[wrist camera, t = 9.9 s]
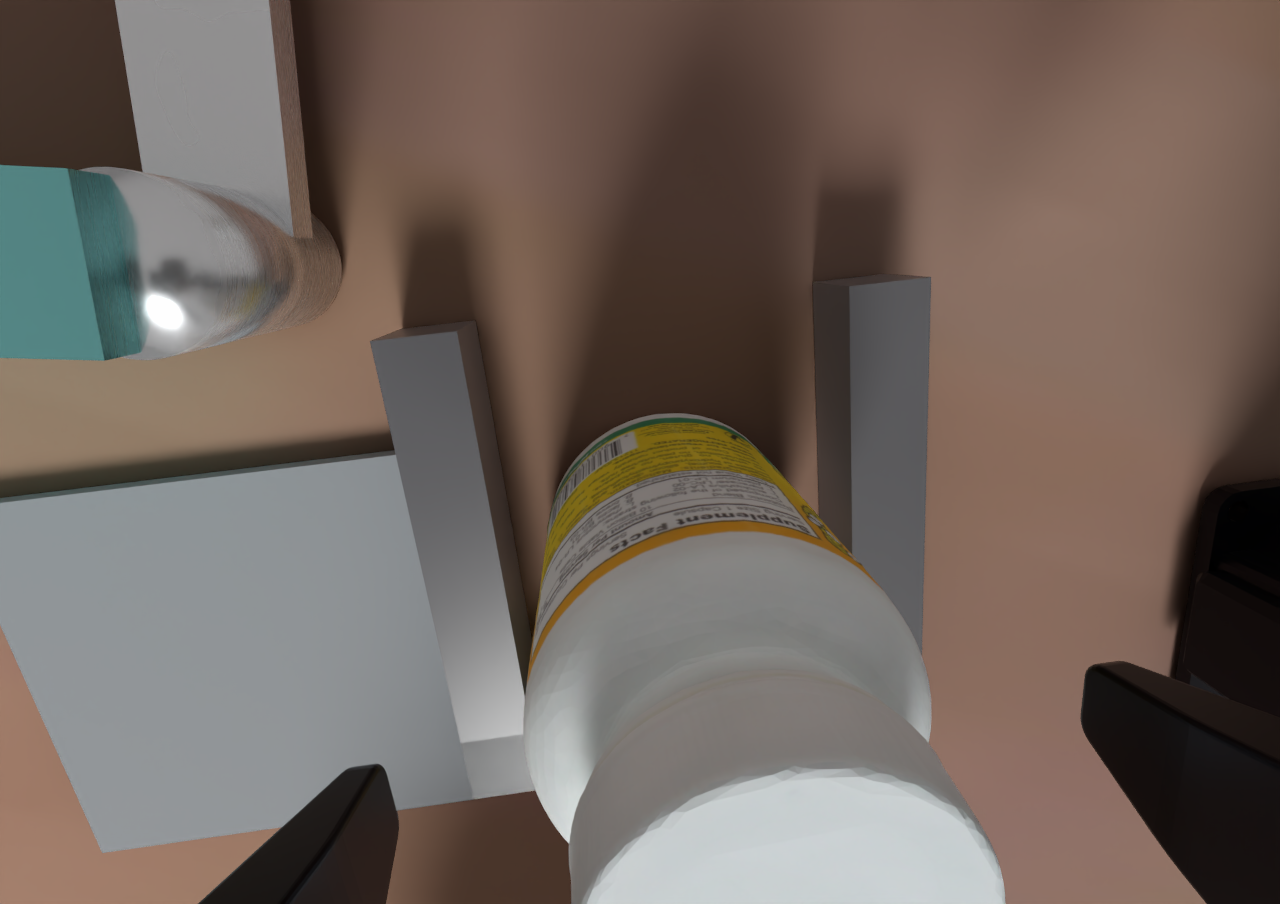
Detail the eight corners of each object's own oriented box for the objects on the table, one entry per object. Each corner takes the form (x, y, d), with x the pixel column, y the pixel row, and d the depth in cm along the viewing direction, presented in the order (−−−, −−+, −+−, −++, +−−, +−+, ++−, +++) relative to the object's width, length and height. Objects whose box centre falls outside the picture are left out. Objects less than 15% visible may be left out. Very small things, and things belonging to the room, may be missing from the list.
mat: (402, 449, 14) (397, 454, 14) (477, 786, 17) (474, 799, 16) (-34, 502, 14) (-52, 509, 13) (113, 839, 16) (102, 852, 16)
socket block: (883, 274, 14) (930, 276, 12) (881, 680, 17) (919, 735, 15) (401, 328, 13) (370, 341, 11) (487, 735, 16) (473, 799, 14)
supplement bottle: (549, 406, 14) (477, 694, 5) (794, 410, 14) (1154, 679, 5) (551, 628, 16) (499, 1167, 6) (773, 626, 16) (1021, 1124, 7)
